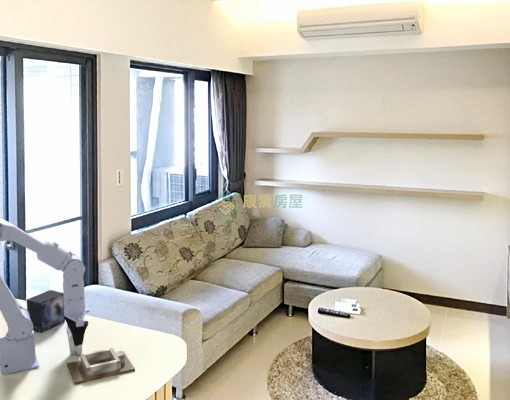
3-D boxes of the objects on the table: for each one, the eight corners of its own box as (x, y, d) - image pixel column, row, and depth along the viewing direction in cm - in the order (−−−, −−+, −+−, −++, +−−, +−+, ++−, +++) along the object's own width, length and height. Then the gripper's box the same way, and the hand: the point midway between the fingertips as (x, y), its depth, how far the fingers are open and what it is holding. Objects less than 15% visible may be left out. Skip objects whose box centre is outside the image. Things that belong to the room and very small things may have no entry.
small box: (42, 334, 174) (39, 302, 172) (27, 330, 177) (24, 299, 175) (66, 322, 184) (64, 292, 182) (51, 318, 186) (49, 289, 184)
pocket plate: (75, 384, 144) (74, 373, 143) (66, 365, 154) (66, 354, 153) (134, 370, 151) (134, 360, 150) (123, 353, 161) (122, 343, 161)
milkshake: (81, 357, 158) (80, 325, 156) (65, 356, 159) (63, 323, 158) (89, 350, 163) (87, 319, 161) (73, 349, 164) (71, 317, 162)
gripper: (93, 302, 153) (96, 347, 156) (83, 287, 166) (85, 329, 168) (67, 307, 150) (70, 353, 153) (58, 290, 163) (61, 333, 165)
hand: (76, 341), depth 160 cm, fingers open, 5 cm apart
